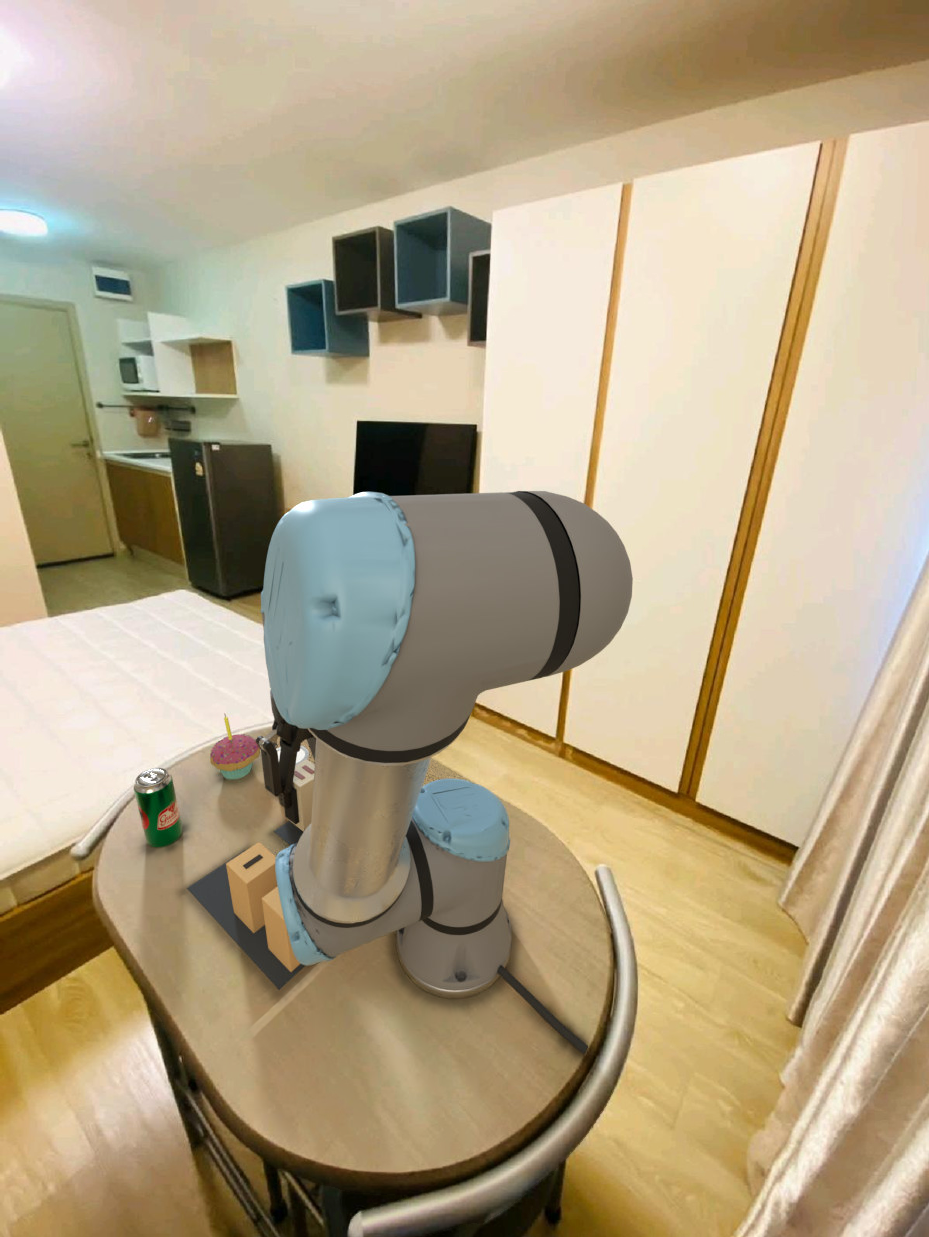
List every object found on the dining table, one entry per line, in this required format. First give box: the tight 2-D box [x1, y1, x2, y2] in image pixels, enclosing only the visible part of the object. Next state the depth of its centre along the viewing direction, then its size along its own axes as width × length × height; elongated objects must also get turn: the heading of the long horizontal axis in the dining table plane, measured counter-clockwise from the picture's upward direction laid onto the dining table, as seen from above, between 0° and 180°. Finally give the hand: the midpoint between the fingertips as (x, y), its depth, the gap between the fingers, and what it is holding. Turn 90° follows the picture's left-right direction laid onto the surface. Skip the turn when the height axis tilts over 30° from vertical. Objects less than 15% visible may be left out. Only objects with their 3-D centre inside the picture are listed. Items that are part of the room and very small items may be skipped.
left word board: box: [186, 841, 307, 991], centre depth 70 cm, size 22×9×10 cm, turn 53°
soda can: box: [133, 767, 183, 849], centre depth 80 cm, size 5×5×12 cm
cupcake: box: [209, 712, 261, 780], centre depth 95 cm, size 9×8×12 cm
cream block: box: [285, 759, 315, 832], centre depth 84 cm, size 5×5×9 cm
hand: (306, 809), depth 85 cm, fingers closed on cream block, 5 cm apart
